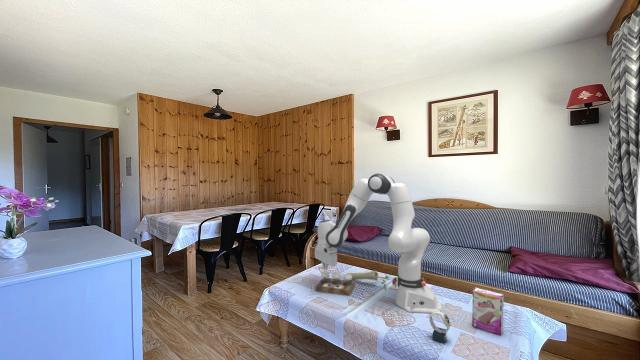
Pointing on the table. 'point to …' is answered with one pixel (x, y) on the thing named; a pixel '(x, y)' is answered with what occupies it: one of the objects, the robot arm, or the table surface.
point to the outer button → (325, 274)
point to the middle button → (336, 275)
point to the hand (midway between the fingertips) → (325, 269)
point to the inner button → (347, 277)
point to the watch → (440, 333)
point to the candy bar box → (488, 311)
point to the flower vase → (371, 277)
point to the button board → (335, 286)
